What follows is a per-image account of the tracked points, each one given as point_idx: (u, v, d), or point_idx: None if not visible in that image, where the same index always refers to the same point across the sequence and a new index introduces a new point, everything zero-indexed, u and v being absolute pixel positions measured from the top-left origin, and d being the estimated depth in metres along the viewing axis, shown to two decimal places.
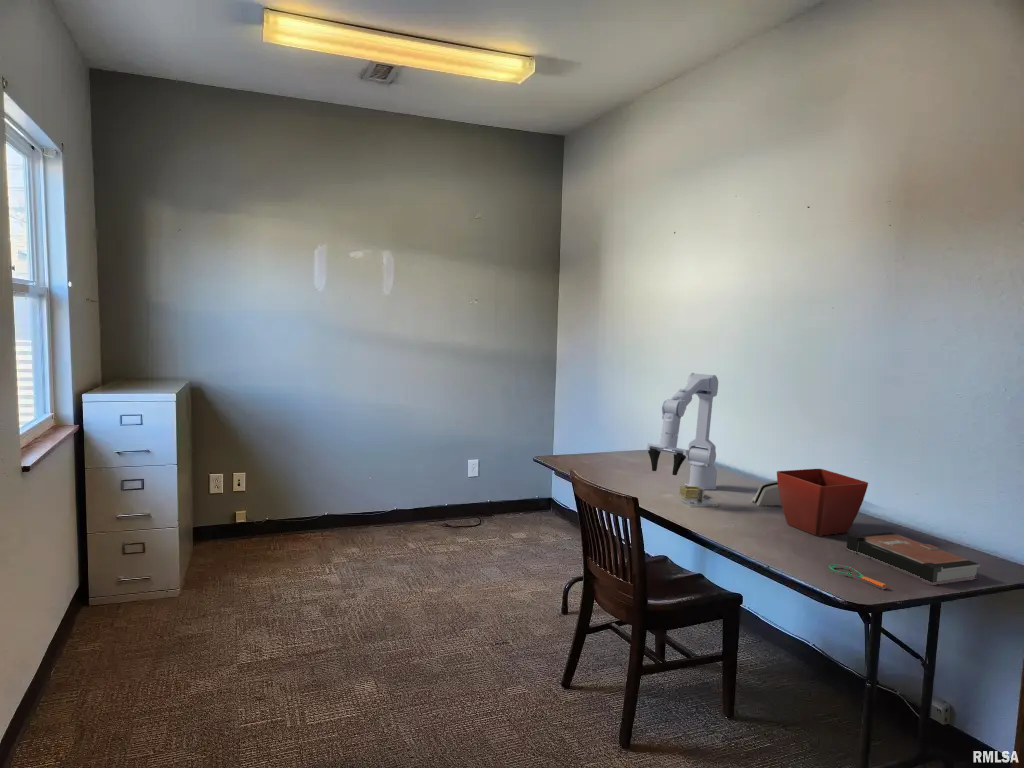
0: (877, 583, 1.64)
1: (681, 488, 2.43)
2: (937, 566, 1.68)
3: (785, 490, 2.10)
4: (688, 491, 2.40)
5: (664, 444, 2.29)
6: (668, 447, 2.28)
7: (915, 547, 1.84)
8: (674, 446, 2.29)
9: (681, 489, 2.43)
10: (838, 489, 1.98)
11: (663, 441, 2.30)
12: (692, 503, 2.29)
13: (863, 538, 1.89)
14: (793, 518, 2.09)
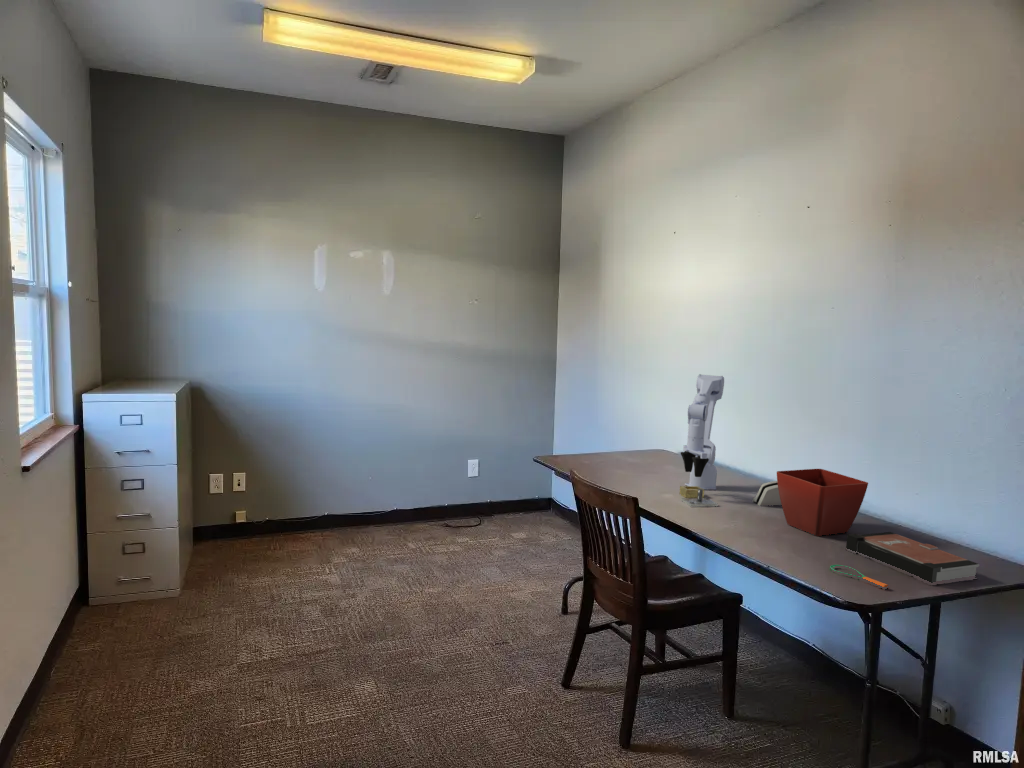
0: (879, 583, 1.64)
1: (681, 488, 2.43)
2: (936, 566, 1.68)
3: (785, 490, 2.10)
4: (688, 491, 2.40)
5: (687, 447, 2.41)
6: (689, 450, 2.40)
7: (914, 546, 1.84)
8: (696, 449, 2.39)
9: (681, 489, 2.43)
10: (838, 489, 1.98)
11: (687, 444, 2.42)
12: (692, 503, 2.29)
13: (862, 538, 1.88)
14: (793, 518, 2.09)
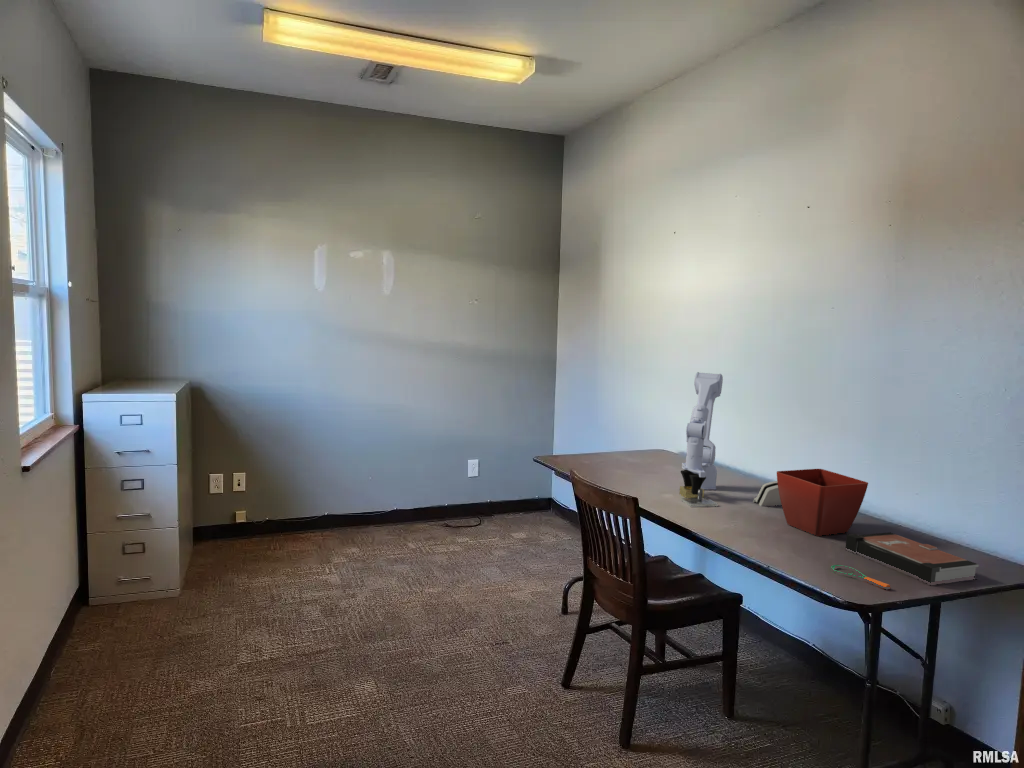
0: (880, 584, 1.63)
1: (681, 488, 2.43)
2: (935, 566, 1.68)
3: (785, 490, 2.10)
4: (688, 491, 2.40)
5: (686, 465, 2.42)
6: (688, 468, 2.40)
7: (913, 547, 1.84)
8: (695, 467, 2.39)
9: (681, 489, 2.43)
10: (838, 489, 1.98)
11: None
12: (692, 503, 2.29)
13: (862, 538, 1.88)
14: (793, 518, 2.09)
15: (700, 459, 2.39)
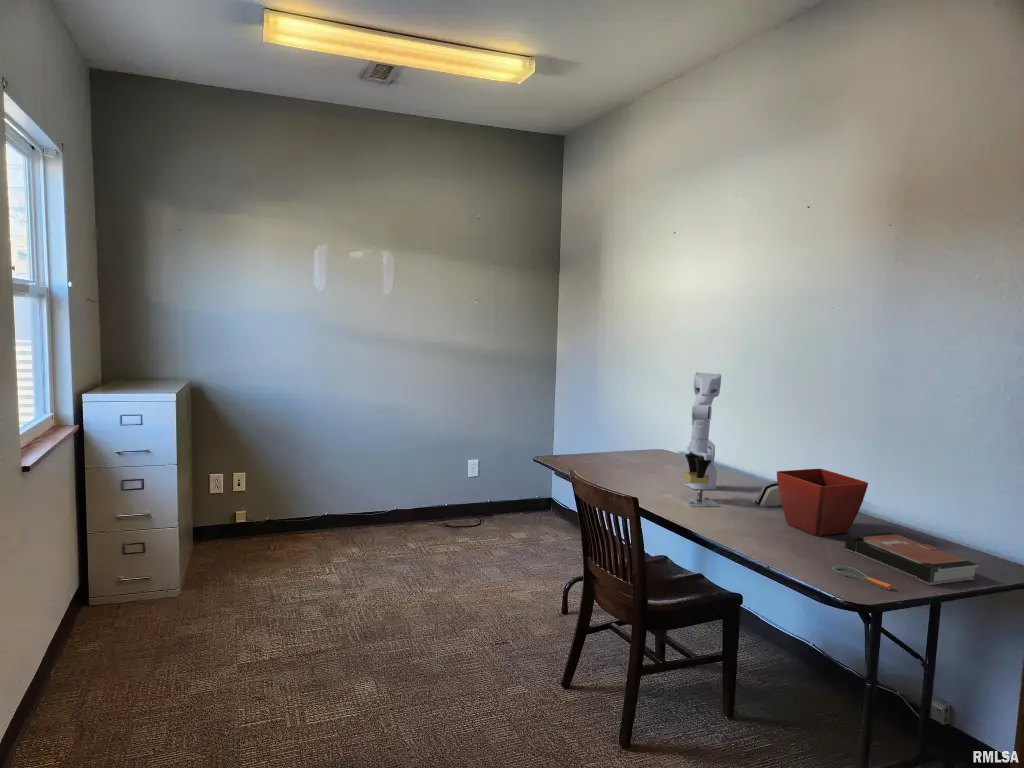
0: (883, 584, 1.63)
1: (685, 474, 2.38)
2: (934, 566, 1.68)
3: (785, 490, 2.10)
4: (693, 476, 2.35)
5: (691, 448, 2.36)
6: (693, 451, 2.35)
7: (913, 547, 1.84)
8: (700, 450, 2.34)
9: (685, 475, 2.38)
10: (838, 489, 1.98)
11: (690, 445, 2.37)
12: (692, 503, 2.29)
13: (861, 538, 1.88)
14: (793, 518, 2.09)
15: (705, 442, 2.34)
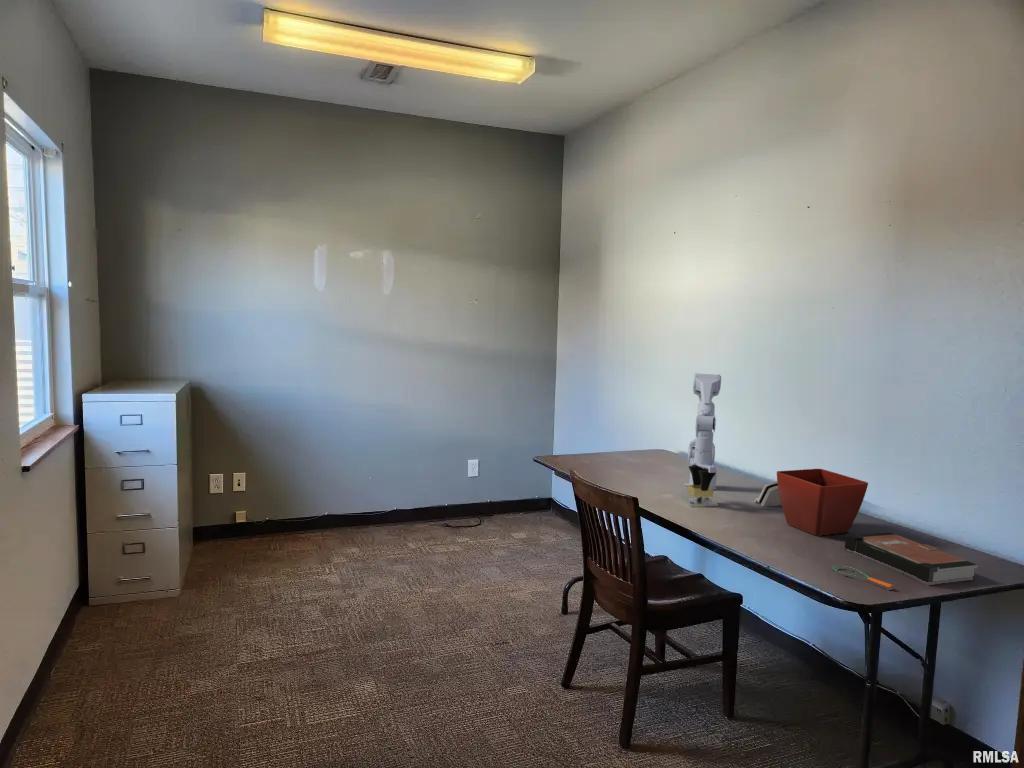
0: (884, 584, 1.63)
1: (689, 487, 2.33)
2: (933, 566, 1.67)
3: (785, 490, 2.10)
4: (696, 490, 2.29)
5: (695, 460, 2.31)
6: (697, 463, 2.30)
7: (913, 547, 1.84)
8: (704, 462, 2.29)
9: (689, 488, 2.33)
10: (838, 489, 1.98)
11: (694, 457, 2.32)
12: (692, 503, 2.29)
13: (861, 538, 1.89)
14: (793, 518, 2.09)
15: (709, 454, 2.29)
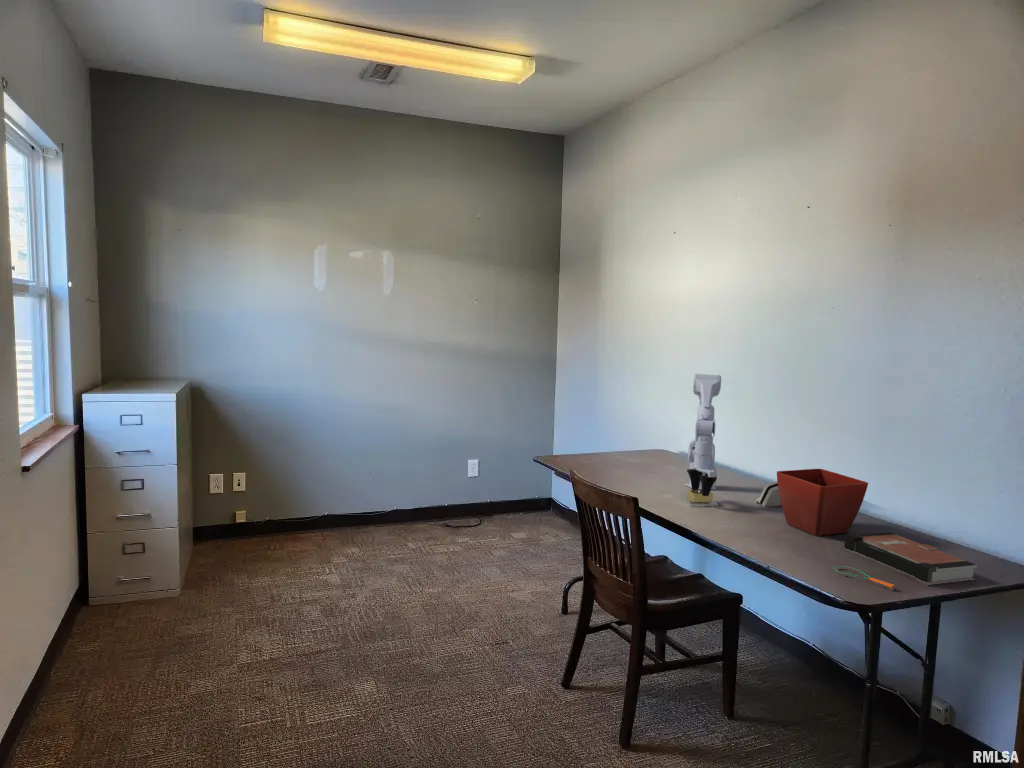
0: (886, 584, 1.63)
1: (689, 492, 2.33)
2: (932, 566, 1.67)
3: (785, 490, 2.10)
4: (696, 495, 2.30)
5: (694, 465, 2.31)
6: (697, 468, 2.30)
7: (912, 547, 1.83)
8: (703, 467, 2.29)
9: (689, 493, 2.33)
10: (838, 489, 1.98)
11: (694, 461, 2.32)
12: (692, 503, 2.29)
13: (861, 538, 1.89)
14: (793, 518, 2.09)
15: (709, 458, 2.29)
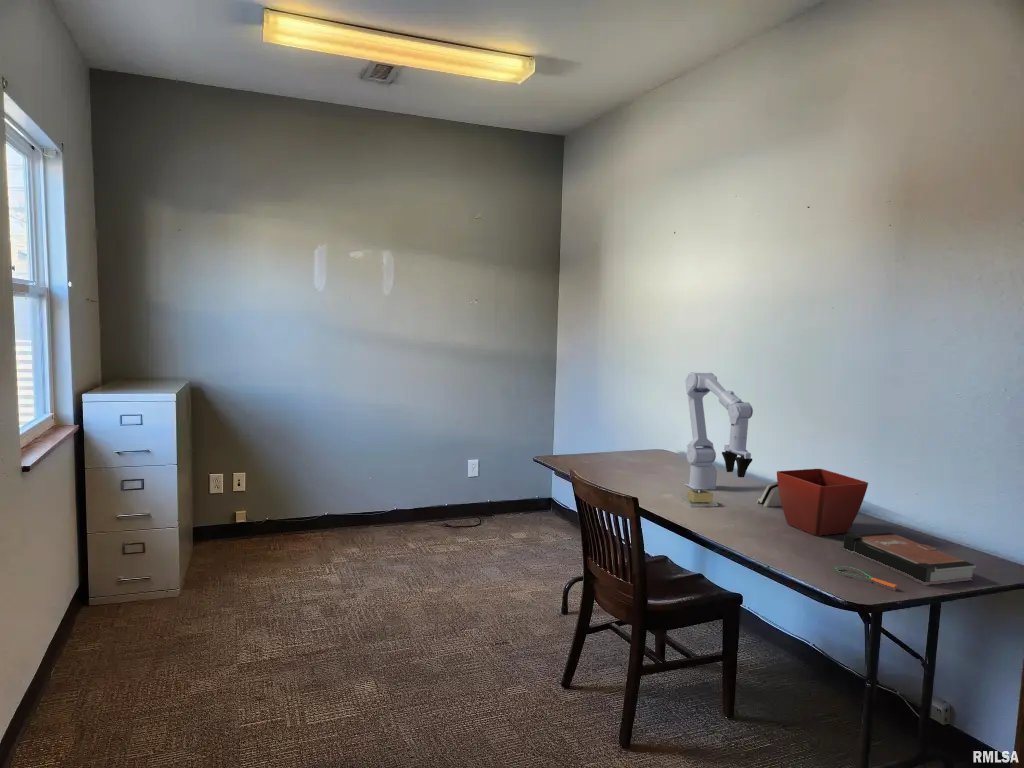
0: (888, 584, 1.63)
1: (689, 492, 2.33)
2: (931, 566, 1.67)
3: (785, 490, 2.10)
4: (696, 495, 2.30)
5: (729, 447, 2.35)
6: (732, 450, 2.34)
7: (912, 547, 1.83)
8: (739, 449, 2.33)
9: (689, 493, 2.33)
10: (838, 489, 1.98)
11: (729, 444, 2.36)
12: (692, 503, 2.29)
13: (860, 538, 1.89)
14: (793, 518, 2.09)
15: (744, 440, 2.33)
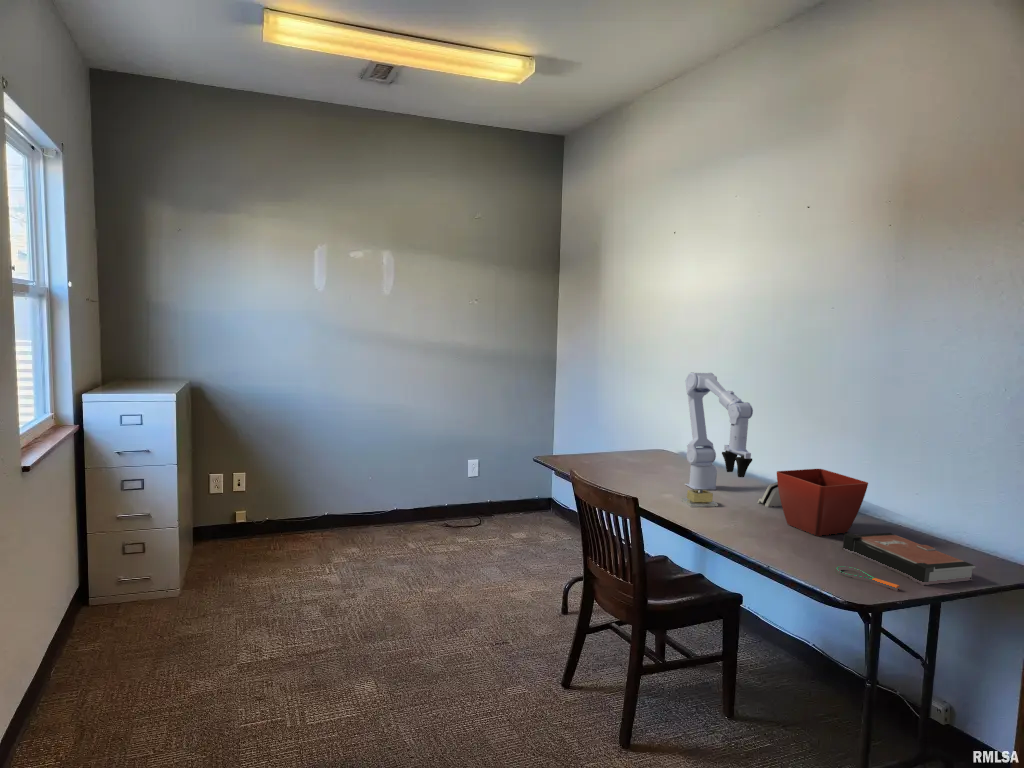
0: (890, 584, 1.63)
1: (689, 492, 2.33)
2: (929, 566, 1.67)
3: (785, 490, 2.10)
4: (696, 495, 2.30)
5: (730, 447, 2.35)
6: (732, 450, 2.34)
7: (911, 547, 1.83)
8: (739, 449, 2.33)
9: (689, 493, 2.33)
10: (838, 489, 1.98)
11: (729, 444, 2.36)
12: (692, 503, 2.29)
13: (859, 538, 1.89)
14: (793, 518, 2.09)
15: (744, 440, 2.33)
